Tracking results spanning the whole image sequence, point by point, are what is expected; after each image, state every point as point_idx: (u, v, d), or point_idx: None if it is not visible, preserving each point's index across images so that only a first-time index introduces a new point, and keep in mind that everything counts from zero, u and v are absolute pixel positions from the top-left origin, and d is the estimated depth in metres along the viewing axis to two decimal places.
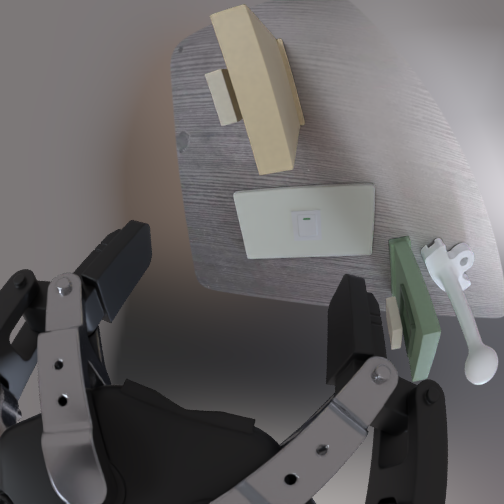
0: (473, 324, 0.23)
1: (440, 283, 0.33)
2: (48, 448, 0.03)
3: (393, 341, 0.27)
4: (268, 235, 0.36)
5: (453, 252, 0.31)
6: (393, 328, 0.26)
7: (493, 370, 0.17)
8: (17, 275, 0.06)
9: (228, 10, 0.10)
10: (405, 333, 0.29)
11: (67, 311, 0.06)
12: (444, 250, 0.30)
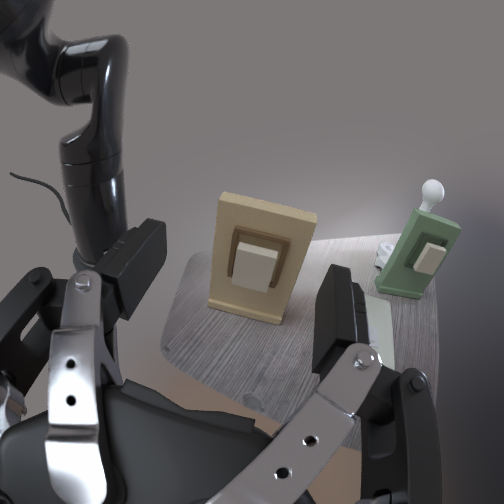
0: None
1: None
2: (51, 446, 0.03)
3: (439, 248, 0.35)
4: None
5: (383, 255, 0.51)
6: (428, 247, 0.35)
7: None
8: (34, 272, 0.07)
9: (222, 195, 0.28)
10: None
11: (84, 309, 0.06)
12: (381, 256, 0.49)
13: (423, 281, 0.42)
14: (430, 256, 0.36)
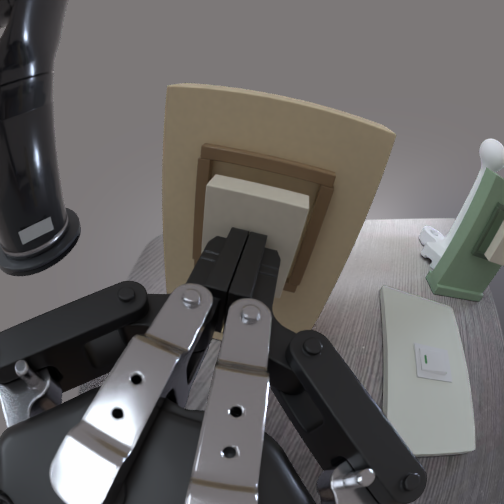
0: (474, 183, 0.26)
1: None
2: (71, 442, 0.03)
3: None
4: (447, 414, 0.14)
5: (429, 242, 0.34)
6: None
7: None
8: (126, 287, 0.07)
9: (179, 84, 0.11)
10: None
11: (180, 327, 0.07)
12: (430, 243, 0.32)
13: (487, 276, 0.25)
14: None
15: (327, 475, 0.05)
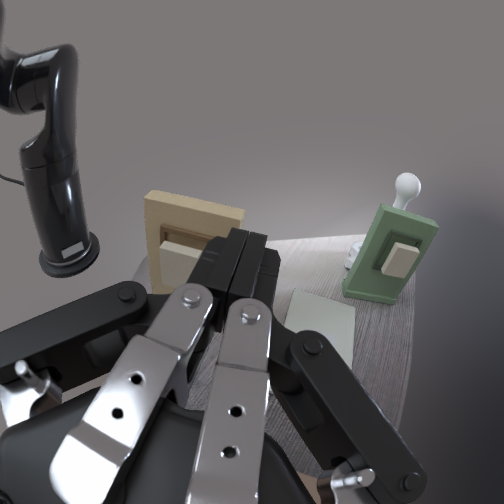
0: None
1: None
2: (71, 442, 0.03)
3: (410, 249, 0.33)
4: None
5: (355, 256, 0.49)
6: (397, 247, 0.33)
7: (404, 173, 0.38)
8: (126, 287, 0.07)
9: (149, 193, 0.26)
10: None
11: (180, 327, 0.07)
12: (352, 257, 0.47)
13: (396, 285, 0.40)
14: (399, 257, 0.34)
15: (327, 475, 0.05)
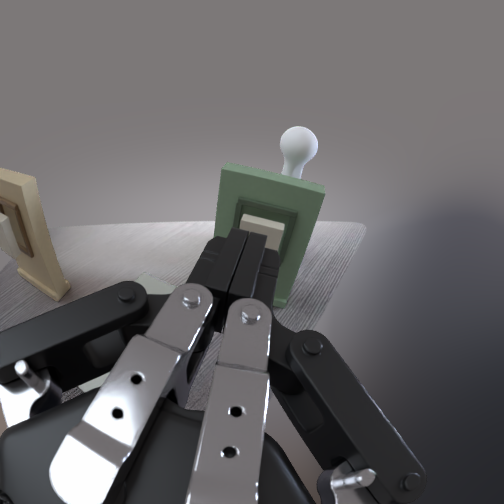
0: None
1: None
2: (71, 442, 0.03)
3: (265, 224, 0.25)
4: None
5: None
6: (241, 221, 0.25)
7: None
8: (127, 288, 0.07)
9: None
10: (284, 238, 0.28)
11: (180, 327, 0.07)
12: None
13: (280, 281, 0.32)
14: None
15: (327, 475, 0.05)
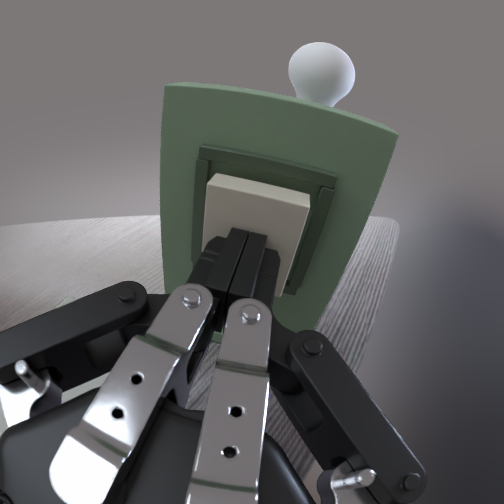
0: None
1: None
2: (71, 442, 0.03)
3: (266, 193, 0.10)
4: None
5: None
6: None
7: None
8: (127, 288, 0.07)
9: None
10: (305, 236, 0.13)
11: (180, 327, 0.07)
12: None
13: (292, 319, 0.17)
14: (231, 225, 0.11)
15: (327, 475, 0.05)
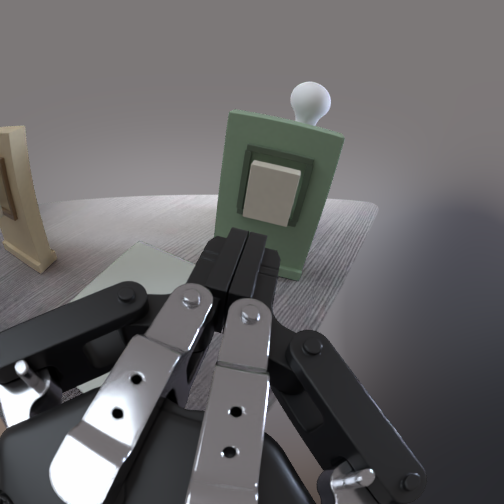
0: None
1: None
2: (71, 442, 0.03)
3: (279, 169, 0.21)
4: None
5: None
6: (251, 166, 0.21)
7: None
8: (127, 288, 0.07)
9: None
10: (299, 191, 0.24)
11: (180, 327, 0.07)
12: None
13: (294, 246, 0.28)
14: (262, 185, 0.22)
15: (327, 475, 0.05)
